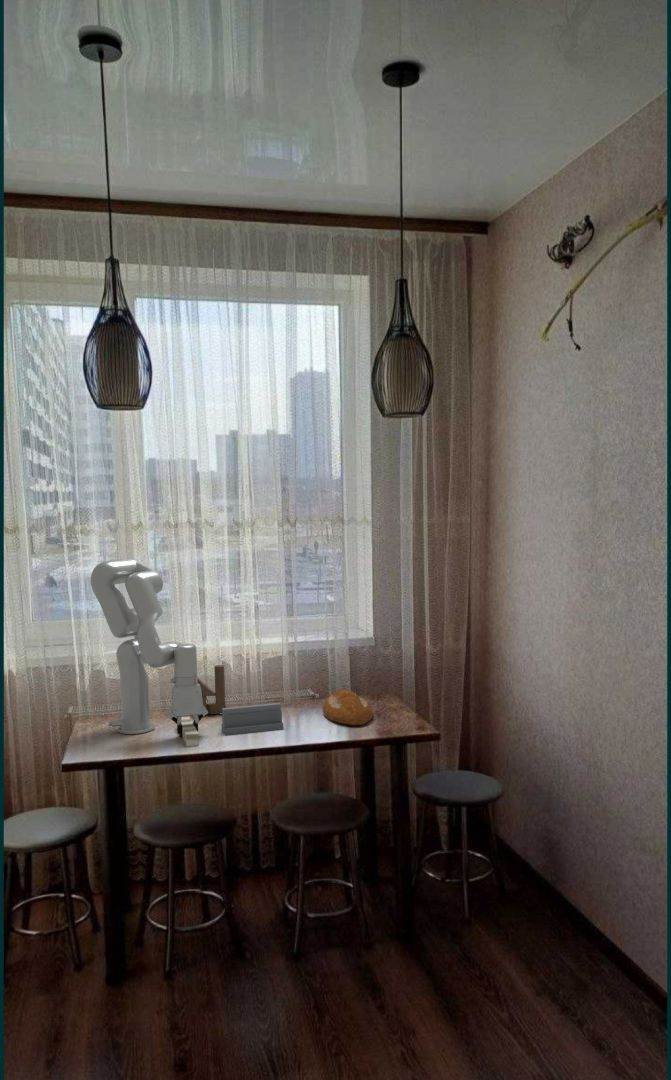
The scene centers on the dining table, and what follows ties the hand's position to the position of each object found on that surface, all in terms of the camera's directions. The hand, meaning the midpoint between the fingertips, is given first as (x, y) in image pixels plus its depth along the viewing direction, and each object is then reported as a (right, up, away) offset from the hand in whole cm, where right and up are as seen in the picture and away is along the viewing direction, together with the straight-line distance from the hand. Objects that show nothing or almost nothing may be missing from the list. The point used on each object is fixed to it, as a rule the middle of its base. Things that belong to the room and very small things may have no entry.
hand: (187, 734), depth 285 cm
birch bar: (0, -1, 0) cm, 1 cm away
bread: (+54, +1, +22) cm, 58 cm away
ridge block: (+21, 0, +6) cm, 22 cm away
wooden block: (+4, +1, +29) cm, 30 cm away
